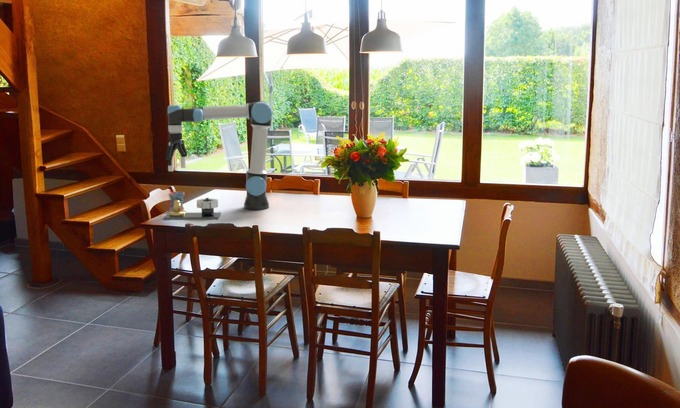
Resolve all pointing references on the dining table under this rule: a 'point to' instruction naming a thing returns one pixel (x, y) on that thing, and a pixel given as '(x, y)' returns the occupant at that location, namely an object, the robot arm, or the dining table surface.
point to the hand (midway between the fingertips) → (177, 169)
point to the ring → (207, 203)
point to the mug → (174, 197)
